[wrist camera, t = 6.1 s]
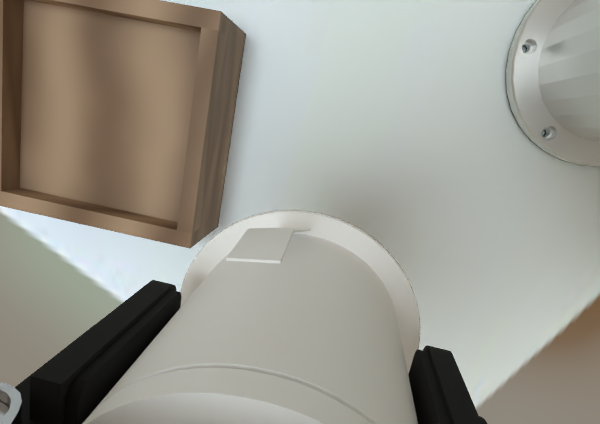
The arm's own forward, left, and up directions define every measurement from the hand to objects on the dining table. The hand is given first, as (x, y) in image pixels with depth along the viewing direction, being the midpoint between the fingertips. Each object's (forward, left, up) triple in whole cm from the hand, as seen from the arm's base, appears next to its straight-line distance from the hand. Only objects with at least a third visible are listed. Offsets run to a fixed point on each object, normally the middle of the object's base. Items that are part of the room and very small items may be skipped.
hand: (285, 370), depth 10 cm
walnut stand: (+15, -4, -20) cm, 25 cm away
